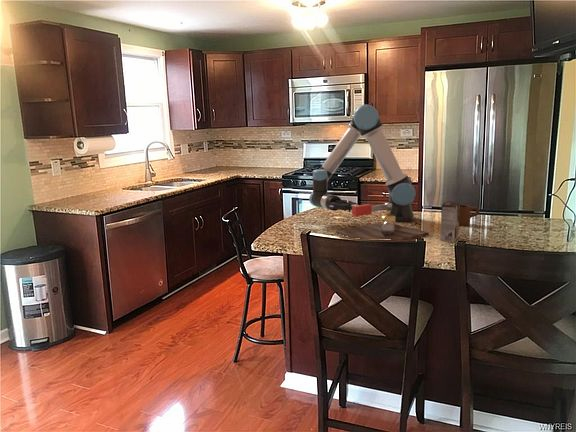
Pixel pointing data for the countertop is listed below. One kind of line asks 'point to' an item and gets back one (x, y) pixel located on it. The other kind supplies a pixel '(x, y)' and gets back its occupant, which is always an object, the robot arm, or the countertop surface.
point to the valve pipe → (388, 224)
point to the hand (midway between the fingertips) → (361, 209)
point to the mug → (466, 214)
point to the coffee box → (450, 221)
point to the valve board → (375, 232)
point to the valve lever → (369, 209)
